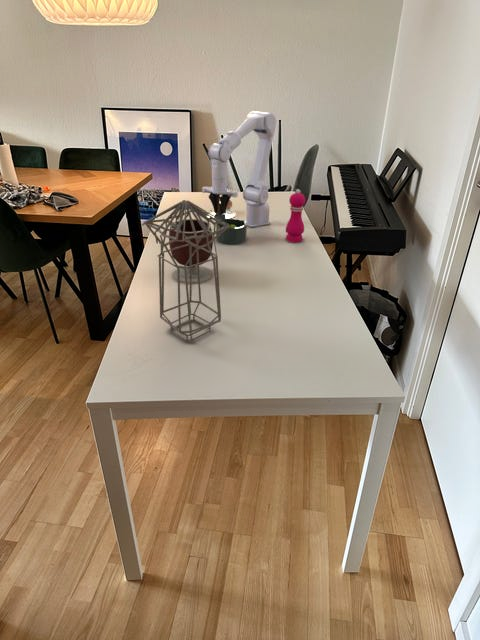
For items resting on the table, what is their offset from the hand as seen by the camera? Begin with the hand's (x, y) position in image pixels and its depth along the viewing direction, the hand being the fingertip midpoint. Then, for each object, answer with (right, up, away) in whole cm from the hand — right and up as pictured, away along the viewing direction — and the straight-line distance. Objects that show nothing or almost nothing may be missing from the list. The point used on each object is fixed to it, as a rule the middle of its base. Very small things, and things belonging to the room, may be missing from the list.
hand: (219, 213), depth 175 cm
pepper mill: (+29, -10, +3) cm, 31 cm away
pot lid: (0, -1, 0) cm, 1 cm away
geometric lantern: (-5, -45, -57) cm, 73 cm away
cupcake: (0, +6, +29) cm, 30 cm away
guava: (+4, -8, +1) cm, 9 cm away
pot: (+4, -10, +2) cm, 11 cm away
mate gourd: (-9, -27, -27) cm, 39 cm away
